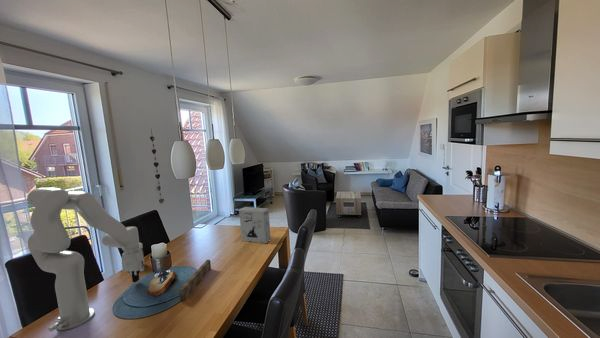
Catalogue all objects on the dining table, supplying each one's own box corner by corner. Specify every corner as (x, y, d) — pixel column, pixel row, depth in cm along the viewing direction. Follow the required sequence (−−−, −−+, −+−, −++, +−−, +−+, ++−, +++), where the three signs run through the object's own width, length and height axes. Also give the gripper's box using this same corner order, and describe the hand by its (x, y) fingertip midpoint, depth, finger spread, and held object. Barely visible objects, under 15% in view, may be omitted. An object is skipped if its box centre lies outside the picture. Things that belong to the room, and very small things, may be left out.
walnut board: (184, 301, 120) (182, 289, 119) (180, 301, 120) (179, 289, 119) (211, 269, 149) (210, 259, 149) (207, 269, 150) (206, 259, 149)
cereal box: (241, 241, 190) (238, 209, 188) (247, 237, 197) (244, 206, 194) (265, 244, 182) (263, 211, 179) (270, 240, 189) (268, 208, 186)
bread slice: (155, 298, 124) (154, 291, 124) (137, 288, 134) (136, 281, 133) (187, 280, 139) (187, 274, 139) (170, 272, 149) (169, 266, 148)
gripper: (113, 252, 132) (118, 285, 134) (139, 252, 131) (144, 284, 133) (124, 246, 140) (128, 277, 142) (149, 246, 138) (153, 277, 140)
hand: (136, 280), depth 137 cm, fingers closed
